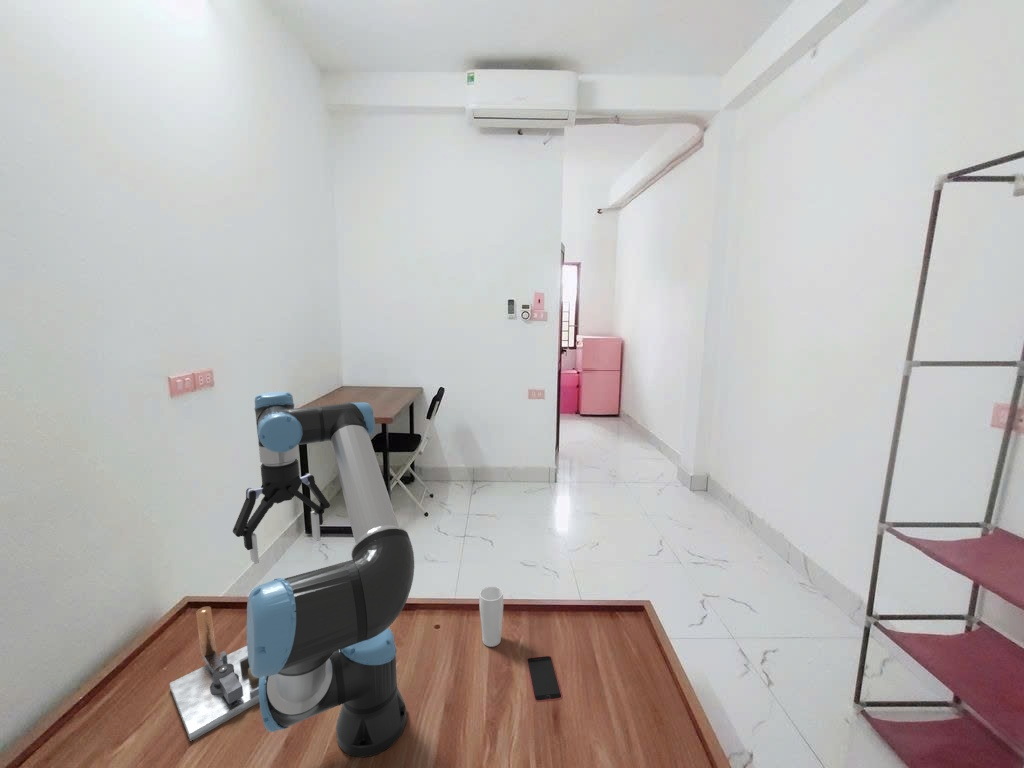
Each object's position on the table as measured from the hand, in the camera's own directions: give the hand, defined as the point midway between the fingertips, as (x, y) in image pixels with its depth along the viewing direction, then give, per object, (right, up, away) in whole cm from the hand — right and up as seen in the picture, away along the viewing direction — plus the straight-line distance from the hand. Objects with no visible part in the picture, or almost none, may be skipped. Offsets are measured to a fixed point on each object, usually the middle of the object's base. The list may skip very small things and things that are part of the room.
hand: (287, 549), depth 104 cm
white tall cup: (+46, -35, +24) cm, 63 cm away
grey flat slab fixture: (-19, -38, +8) cm, 43 cm away
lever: (-21, -35, +9) cm, 42 cm away
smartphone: (+60, -38, +12) cm, 72 cm away
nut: (-12, -36, +9) cm, 39 cm away
